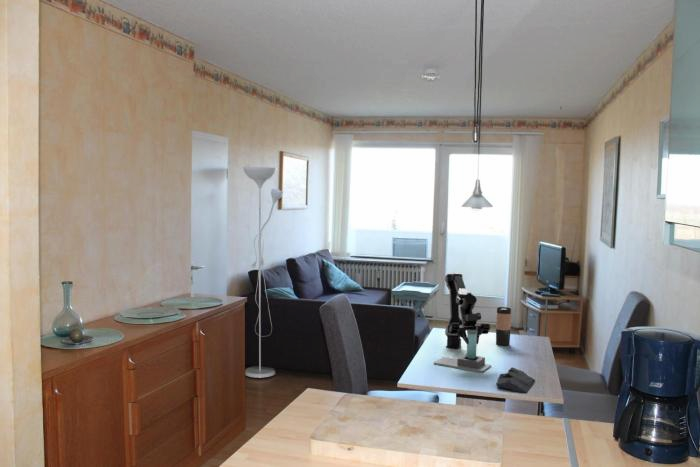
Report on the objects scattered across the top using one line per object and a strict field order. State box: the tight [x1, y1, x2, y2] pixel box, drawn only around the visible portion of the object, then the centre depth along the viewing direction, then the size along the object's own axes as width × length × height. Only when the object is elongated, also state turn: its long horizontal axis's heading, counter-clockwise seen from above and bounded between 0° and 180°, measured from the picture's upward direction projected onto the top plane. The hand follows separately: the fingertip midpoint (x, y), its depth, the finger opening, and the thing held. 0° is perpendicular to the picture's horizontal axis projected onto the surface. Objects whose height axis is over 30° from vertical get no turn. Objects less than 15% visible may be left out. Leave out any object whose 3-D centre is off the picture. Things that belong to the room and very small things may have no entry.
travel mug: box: [495, 306, 512, 347], centre depth 318 cm, size 8×8×20 cm
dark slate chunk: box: [496, 367, 536, 394], centre depth 250 cm, size 15×22×5 cm
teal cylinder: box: [466, 329, 478, 359], centre depth 274 cm, size 5×5×13 cm
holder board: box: [433, 353, 492, 374], centre depth 276 cm, size 24×12×4 cm, turn 59°
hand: (472, 343), depth 273 cm, fingers closed on teal cylinder, 4 cm apart
